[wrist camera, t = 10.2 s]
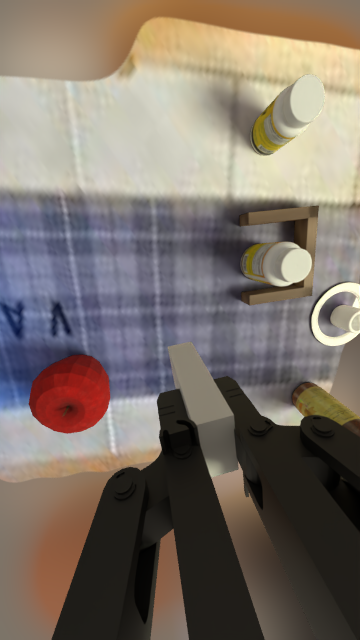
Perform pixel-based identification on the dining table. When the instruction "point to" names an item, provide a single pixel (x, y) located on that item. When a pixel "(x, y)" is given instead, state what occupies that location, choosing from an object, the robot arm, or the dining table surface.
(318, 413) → the sauce bottle
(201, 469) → the robot arm
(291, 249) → the supplement bottle
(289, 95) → the supplement bottle
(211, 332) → the dining table surface
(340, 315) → the candle holder
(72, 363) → the apple
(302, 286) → the pocket
